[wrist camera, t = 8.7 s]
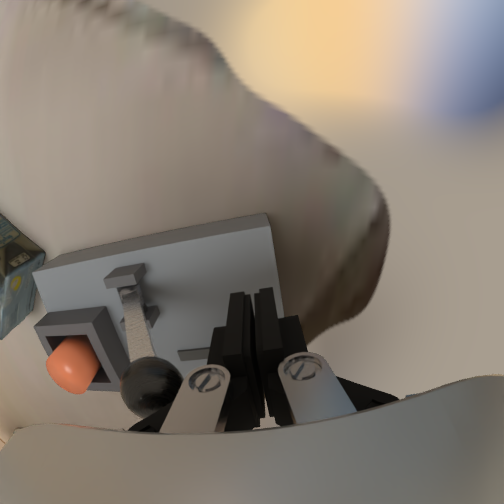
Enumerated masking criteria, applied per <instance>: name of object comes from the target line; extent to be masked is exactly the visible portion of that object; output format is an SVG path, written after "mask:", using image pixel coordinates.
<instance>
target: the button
mask: <svg viewBox="0 0 504 504" xmlns="http://www.w3.org/2000/svg"><path fill="white" fill-rule="evenodd" d="M101 365H102V364H101V363H100V361H99V359H98V357H97V355H96V353H95V351H94V349H93V347H92V344H91V342H90V340H89V338H88V336H87V334H86V335H67V336H66V338H65V339H64V340H63V341H62V342H61V343H60V344H59V346H58V347H57V348H56V349H55V350H54V352H53V353H52V354H51V355H50V356H49V358H48V359H47V361H46V366H47V370H48V372H49V374H50V376H51V377H52V379H53V380H54V381H55V382H56V383H57V384H58V385H59V386H60V387H62V388H63V389H65V390H66V391H68V392H71V393H74V394H83V393H84V392H85V391H86V390H87V388H88V386H89V385H90V383H91V381H92V380H93V378H94V376H95V375H96V373H97V371H98V370H99V368H100V367H101Z"/></svg>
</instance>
